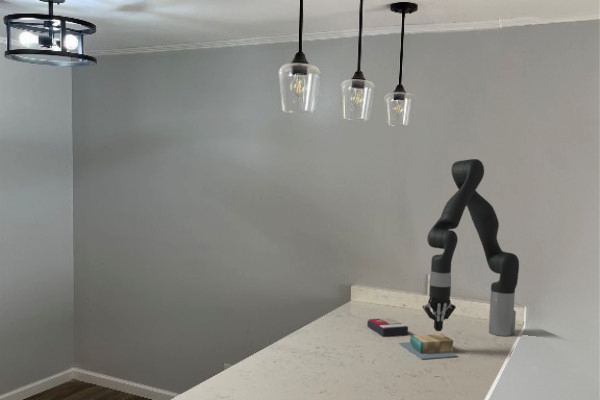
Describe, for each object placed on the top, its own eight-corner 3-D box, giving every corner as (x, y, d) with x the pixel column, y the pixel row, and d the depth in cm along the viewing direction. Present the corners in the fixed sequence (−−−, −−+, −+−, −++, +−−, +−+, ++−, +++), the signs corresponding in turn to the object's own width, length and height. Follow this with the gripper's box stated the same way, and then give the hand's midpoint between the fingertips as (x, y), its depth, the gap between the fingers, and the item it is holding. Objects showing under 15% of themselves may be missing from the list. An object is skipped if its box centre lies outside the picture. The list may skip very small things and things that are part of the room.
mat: (432, 341, 229) (432, 340, 228) (457, 356, 211) (457, 355, 211) (398, 343, 224) (398, 342, 224) (422, 359, 207) (422, 358, 207)
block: (441, 334, 224) (410, 335, 220) (453, 340, 216) (420, 342, 212) (441, 344, 224) (410, 346, 220) (452, 351, 216) (420, 353, 213)
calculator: (391, 317, 250) (408, 324, 236) (390, 327, 250) (408, 335, 236) (367, 318, 247) (383, 326, 233) (366, 328, 247) (383, 337, 233)
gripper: (450, 281, 223) (448, 326, 224) (419, 282, 219) (416, 328, 220) (461, 285, 216) (459, 332, 217) (429, 286, 212) (426, 334, 213)
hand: (438, 330), depth 219 cm, fingers closed
